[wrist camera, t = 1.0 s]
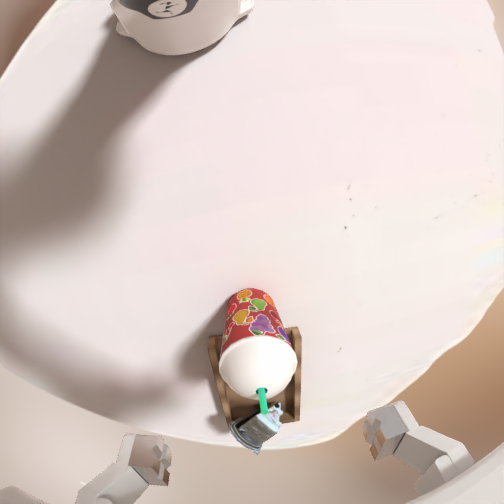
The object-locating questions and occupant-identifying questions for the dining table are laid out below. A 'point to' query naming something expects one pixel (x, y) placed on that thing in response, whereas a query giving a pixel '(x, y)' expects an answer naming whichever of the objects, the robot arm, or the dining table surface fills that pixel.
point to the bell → (257, 427)
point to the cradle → (241, 406)
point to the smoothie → (255, 348)
